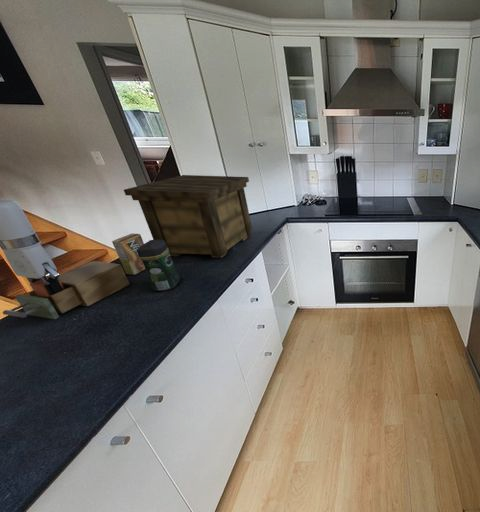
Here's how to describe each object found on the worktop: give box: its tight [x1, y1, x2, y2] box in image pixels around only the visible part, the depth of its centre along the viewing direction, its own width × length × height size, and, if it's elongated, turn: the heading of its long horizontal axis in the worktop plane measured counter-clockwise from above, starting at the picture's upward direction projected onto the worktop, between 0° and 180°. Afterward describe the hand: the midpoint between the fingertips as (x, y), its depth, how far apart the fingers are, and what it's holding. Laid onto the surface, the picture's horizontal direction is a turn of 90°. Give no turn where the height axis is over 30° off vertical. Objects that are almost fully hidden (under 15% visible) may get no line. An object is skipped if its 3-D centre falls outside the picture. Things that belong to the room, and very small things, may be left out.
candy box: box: [111, 232, 146, 276], centre depth 115 cm, size 9×4×15 cm, turn 175°
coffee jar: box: [137, 239, 181, 292], centre depth 104 cm, size 10×8×19 cm
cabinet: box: [58, 260, 131, 307], centre depth 100 cm, size 15×13×9 cm
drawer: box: [2, 284, 84, 320], centre depth 90 cm, size 18×11×7 cm, turn 170°
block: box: [29, 276, 65, 297], centre depth 89 cm, size 4×4×4 cm
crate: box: [123, 174, 254, 259], centre depth 134 cm, size 35×35×33 cm
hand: (50, 291), depth 90 cm, fingers closed on block, 4 cm apart
